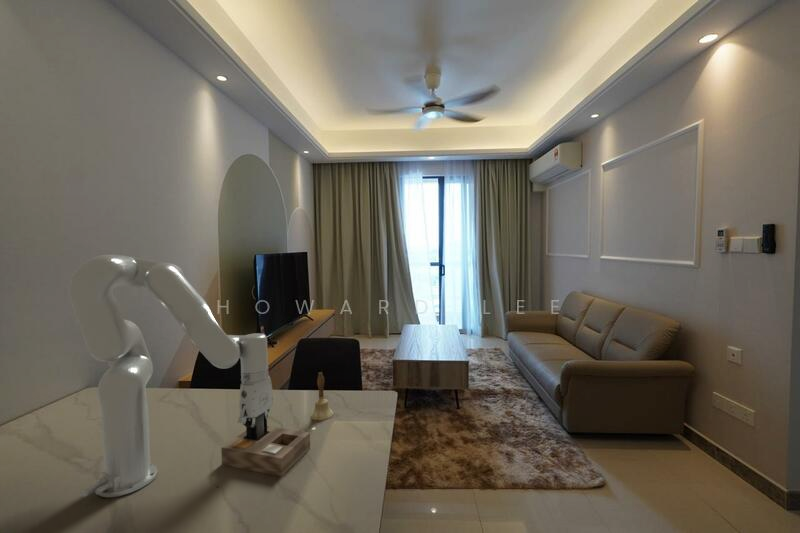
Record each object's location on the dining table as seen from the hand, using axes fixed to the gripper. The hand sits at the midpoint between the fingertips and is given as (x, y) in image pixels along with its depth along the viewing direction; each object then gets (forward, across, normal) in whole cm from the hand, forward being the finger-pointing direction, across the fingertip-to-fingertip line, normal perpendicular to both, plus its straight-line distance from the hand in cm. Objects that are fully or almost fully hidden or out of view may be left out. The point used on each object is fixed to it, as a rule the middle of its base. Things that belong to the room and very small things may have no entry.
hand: (257, 434), depth 105 cm
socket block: (+5, -2, -5) cm, 7 cm away
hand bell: (+5, +26, -7) cm, 28 cm away
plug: (+3, 0, 0) cm, 3 cm away
